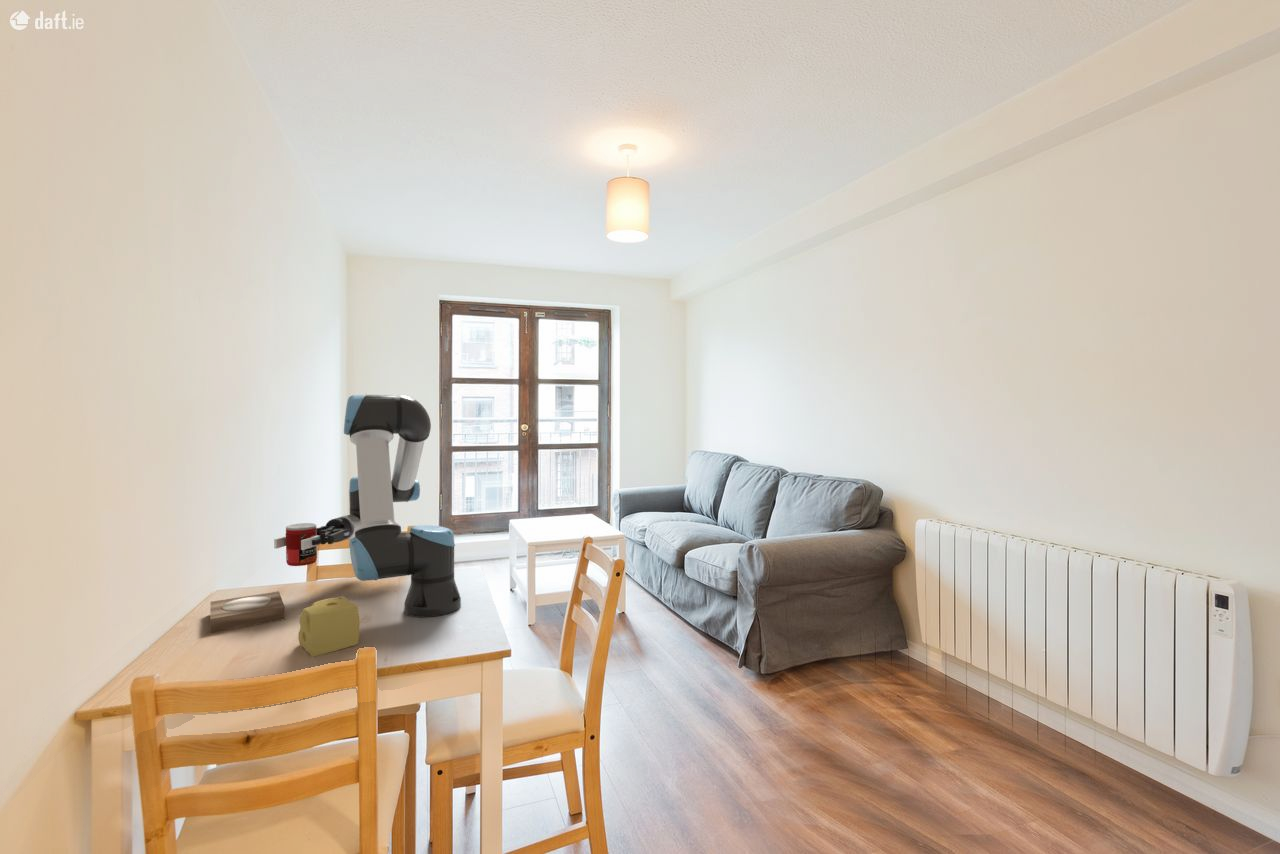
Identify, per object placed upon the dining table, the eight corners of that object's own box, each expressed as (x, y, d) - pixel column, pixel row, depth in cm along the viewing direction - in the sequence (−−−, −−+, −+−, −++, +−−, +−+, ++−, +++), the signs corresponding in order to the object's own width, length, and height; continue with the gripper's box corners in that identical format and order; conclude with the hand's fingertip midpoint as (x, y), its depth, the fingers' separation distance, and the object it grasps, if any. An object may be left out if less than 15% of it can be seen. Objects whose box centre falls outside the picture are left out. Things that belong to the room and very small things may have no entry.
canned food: (303, 567, 166) (302, 528, 165) (279, 565, 167) (279, 527, 167) (323, 560, 173) (322, 523, 173) (300, 558, 175) (300, 522, 174)
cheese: (298, 645, 139) (297, 603, 139) (346, 633, 147) (345, 594, 146) (311, 658, 132) (310, 615, 131) (360, 645, 139) (360, 604, 139)
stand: (284, 619, 156) (284, 605, 156) (210, 632, 146) (210, 617, 146) (279, 603, 169) (278, 590, 169) (210, 614, 159) (210, 600, 159)
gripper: (371, 541, 186) (321, 559, 164) (314, 538, 189) (257, 555, 167) (371, 518, 186) (321, 532, 163) (313, 515, 189) (256, 529, 167)
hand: (288, 544), depth 165 cm, fingers closed on canned food, 8 cm apart
